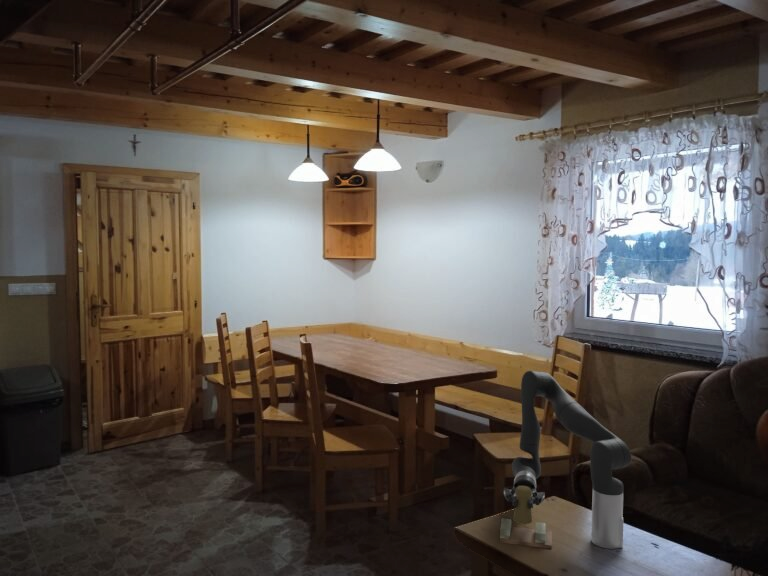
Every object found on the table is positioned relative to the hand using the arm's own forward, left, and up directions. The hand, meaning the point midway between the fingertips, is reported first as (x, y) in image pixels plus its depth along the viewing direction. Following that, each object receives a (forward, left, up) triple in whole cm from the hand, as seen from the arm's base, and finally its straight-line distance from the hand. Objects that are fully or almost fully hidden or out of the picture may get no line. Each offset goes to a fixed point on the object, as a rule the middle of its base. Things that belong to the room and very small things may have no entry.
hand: (522, 505), depth 198 cm
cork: (0, -3, -6) cm, 7 cm away
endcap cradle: (0, -3, -12) cm, 12 cm away
